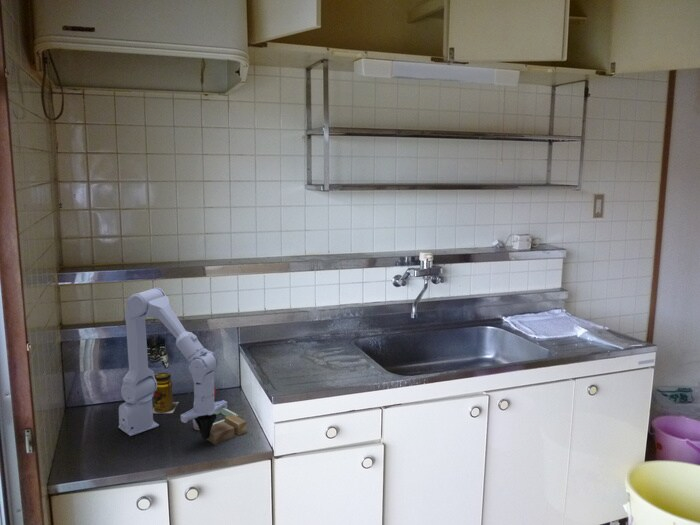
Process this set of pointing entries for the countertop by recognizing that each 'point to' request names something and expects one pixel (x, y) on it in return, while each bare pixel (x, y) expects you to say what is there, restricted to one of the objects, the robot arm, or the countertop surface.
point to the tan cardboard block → (220, 432)
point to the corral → (224, 412)
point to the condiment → (163, 394)
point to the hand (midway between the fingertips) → (205, 437)
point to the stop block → (236, 424)
